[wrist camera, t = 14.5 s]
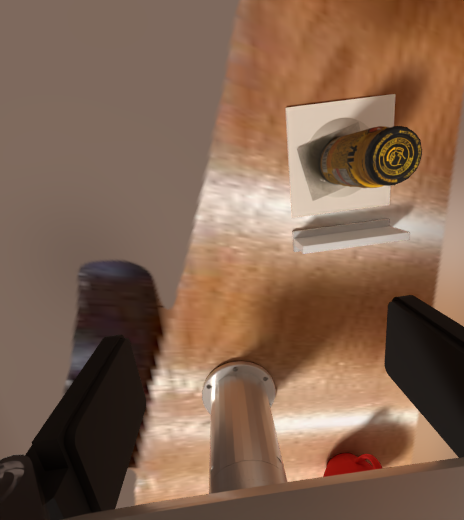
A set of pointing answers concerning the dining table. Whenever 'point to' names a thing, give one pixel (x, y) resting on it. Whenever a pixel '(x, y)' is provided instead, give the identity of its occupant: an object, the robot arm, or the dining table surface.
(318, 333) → the dining table surface
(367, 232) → the low wall
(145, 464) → the dining table surface
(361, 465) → the ceramic cup
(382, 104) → the pad
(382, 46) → the dining table surface
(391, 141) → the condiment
